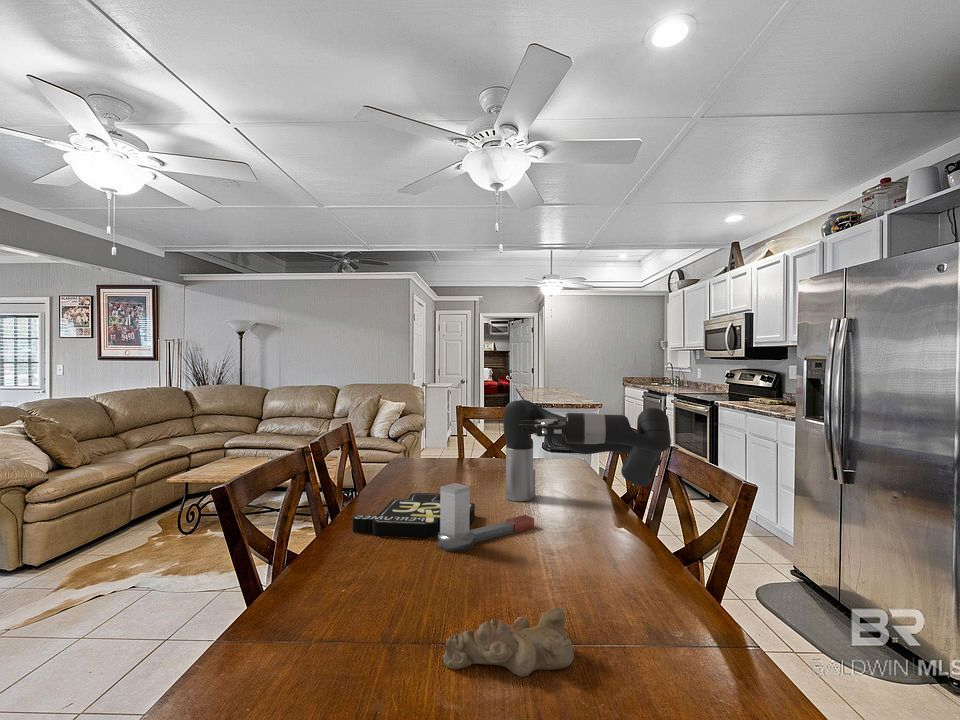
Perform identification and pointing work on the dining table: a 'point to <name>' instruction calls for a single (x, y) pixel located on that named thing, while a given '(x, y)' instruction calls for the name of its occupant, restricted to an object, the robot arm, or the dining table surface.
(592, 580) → the dining table surface
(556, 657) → the figurine
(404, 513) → the sign
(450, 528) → the brushed aluminum block
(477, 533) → the ratchet
